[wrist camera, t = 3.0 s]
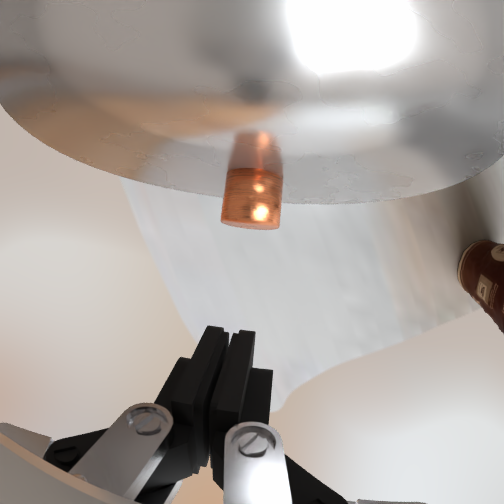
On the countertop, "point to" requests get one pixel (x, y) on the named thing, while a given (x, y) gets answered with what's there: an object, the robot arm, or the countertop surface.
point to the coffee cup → (485, 277)
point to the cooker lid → (262, 94)
